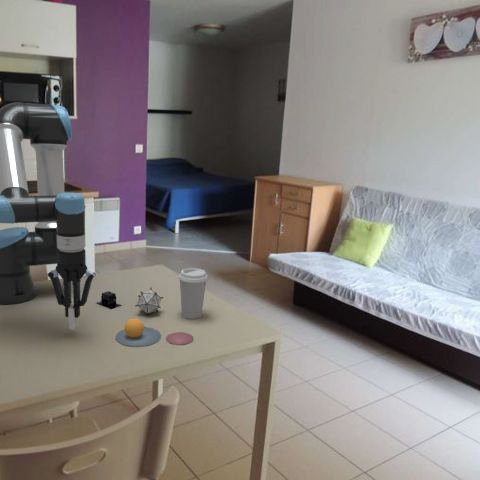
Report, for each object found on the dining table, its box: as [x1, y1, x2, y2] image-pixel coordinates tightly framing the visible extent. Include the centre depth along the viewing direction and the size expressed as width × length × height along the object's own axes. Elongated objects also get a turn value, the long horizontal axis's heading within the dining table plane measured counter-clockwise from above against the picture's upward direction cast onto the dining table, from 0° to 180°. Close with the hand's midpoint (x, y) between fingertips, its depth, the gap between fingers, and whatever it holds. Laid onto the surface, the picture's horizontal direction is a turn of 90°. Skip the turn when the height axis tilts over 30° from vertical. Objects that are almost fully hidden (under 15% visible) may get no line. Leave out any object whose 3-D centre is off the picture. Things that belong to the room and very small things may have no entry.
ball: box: [124, 318, 145, 338], centre depth 138 cm, size 6×6×6 cm
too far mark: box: [165, 331, 194, 346], centre depth 140 cm, size 8×8×1 cm
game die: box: [134, 286, 164, 317], centre depth 156 cm, size 9×8×10 cm
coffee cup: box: [177, 267, 209, 320], centre depth 155 cm, size 10×10×15 cm
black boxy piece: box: [95, 290, 123, 310], centre depth 161 cm, size 12×7×5 cm, turn 55°
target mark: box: [115, 326, 162, 348], centre depth 139 cm, size 13×13×1 cm
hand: (72, 327), depth 138 cm, fingers closed
